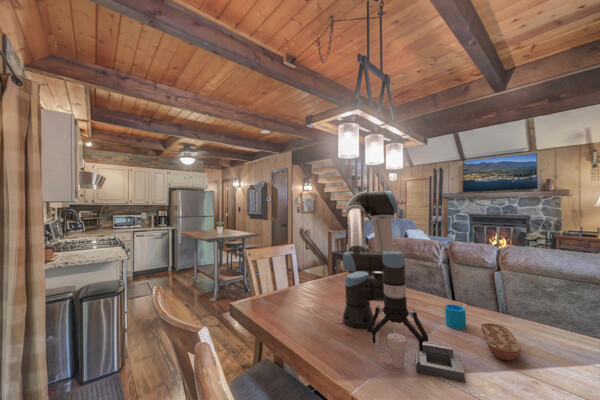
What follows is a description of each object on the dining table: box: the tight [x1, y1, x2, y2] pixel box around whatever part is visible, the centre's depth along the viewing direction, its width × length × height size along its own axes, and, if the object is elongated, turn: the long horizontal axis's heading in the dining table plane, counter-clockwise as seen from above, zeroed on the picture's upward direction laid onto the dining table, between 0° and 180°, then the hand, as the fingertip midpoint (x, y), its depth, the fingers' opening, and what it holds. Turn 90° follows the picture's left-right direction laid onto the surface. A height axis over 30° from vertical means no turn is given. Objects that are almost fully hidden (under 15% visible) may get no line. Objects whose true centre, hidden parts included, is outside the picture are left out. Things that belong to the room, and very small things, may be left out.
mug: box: [444, 304, 467, 330], centre depth 121 cm, size 12×8×8 cm
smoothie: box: [386, 324, 408, 369], centre depth 91 cm, size 6×6×14 cm
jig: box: [415, 342, 466, 384], centre depth 89 cm, size 14×11×5 cm
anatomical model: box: [480, 322, 520, 361], centre depth 99 cm, size 23×10×5 cm, turn 152°
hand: (397, 355), depth 91 cm, fingers open, 13 cm apart
